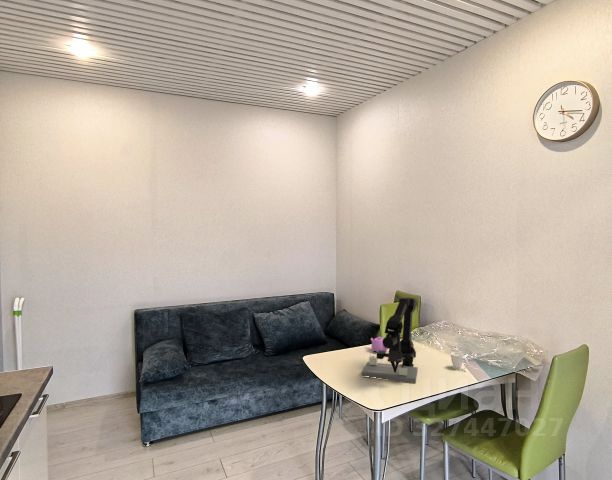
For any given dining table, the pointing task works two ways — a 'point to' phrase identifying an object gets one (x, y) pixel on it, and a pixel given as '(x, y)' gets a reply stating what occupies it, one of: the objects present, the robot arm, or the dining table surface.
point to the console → (389, 372)
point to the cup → (457, 360)
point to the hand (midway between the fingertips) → (395, 372)
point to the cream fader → (373, 360)
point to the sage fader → (402, 370)
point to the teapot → (378, 344)
